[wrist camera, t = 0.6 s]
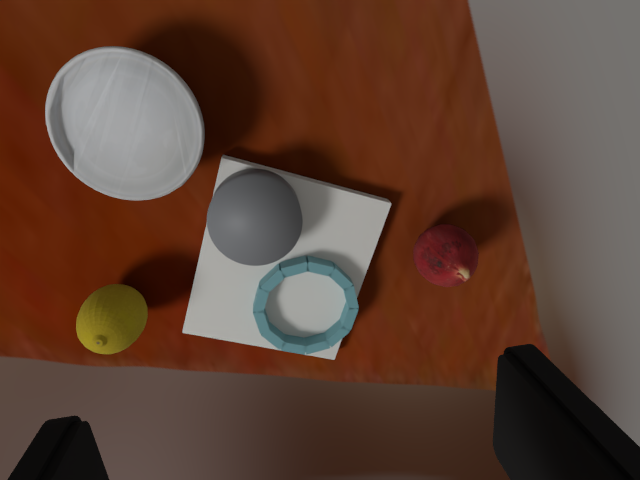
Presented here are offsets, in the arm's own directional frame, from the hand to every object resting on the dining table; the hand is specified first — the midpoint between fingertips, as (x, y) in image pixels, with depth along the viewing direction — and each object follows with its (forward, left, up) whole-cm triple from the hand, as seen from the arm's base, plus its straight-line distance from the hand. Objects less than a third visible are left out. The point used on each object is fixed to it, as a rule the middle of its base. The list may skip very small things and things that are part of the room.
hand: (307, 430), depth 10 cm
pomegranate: (+4, +18, -32) cm, 37 cm away
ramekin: (0, -11, -32) cm, 34 cm away
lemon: (+17, -10, -32) cm, 38 cm away
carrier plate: (+10, +4, -32) cm, 34 cm away
